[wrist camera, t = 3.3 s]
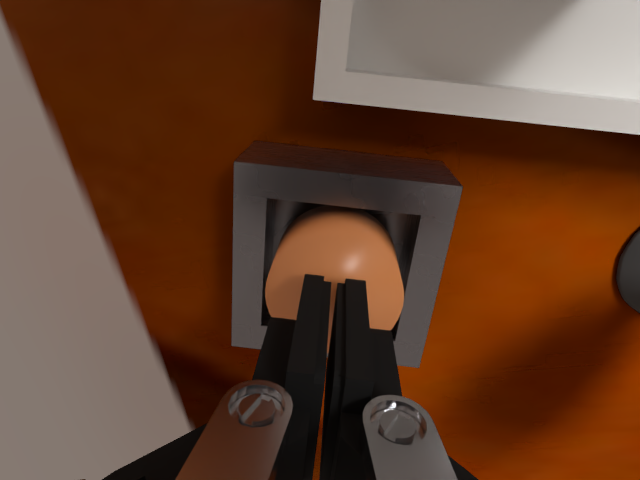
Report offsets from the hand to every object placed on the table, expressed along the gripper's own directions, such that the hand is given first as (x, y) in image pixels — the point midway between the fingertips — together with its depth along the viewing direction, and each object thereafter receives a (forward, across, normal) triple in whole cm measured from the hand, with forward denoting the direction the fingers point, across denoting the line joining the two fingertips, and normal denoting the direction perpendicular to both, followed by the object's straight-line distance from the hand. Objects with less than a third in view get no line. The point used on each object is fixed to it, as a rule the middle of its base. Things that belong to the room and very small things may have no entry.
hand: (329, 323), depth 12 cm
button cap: (+3, 0, 0) cm, 3 cm away
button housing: (+5, 0, 0) cm, 5 cm away
